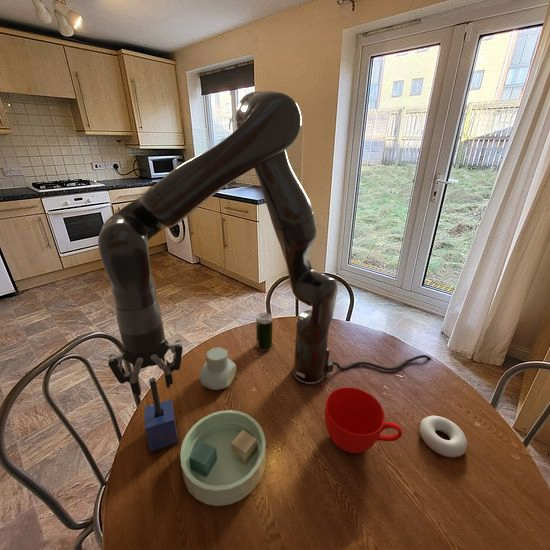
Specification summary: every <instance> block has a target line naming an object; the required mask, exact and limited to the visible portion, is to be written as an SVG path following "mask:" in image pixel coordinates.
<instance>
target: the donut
mask: <svg viewBox="0 0 550 550" xmlns="http://www.w3.org/2000/svg"><path fill="white" fill-rule="evenodd" d="M436 431H437V432H442V433H444V434H445V435H447V437H448V438H449V439H444V438H442V437H440V436H439V435H438V434H437V432H436ZM419 433H420V437H421V439H422V440H423V442H424V443H425V445H427V447H429V448H430V449H431V450H432V451H434V452H435V453H436V454H438V455H441V456H443V457H448V458H456V457H462V456H463V455H464V454H465V453H466V451H467V448H468V440H467V438H466V435H465V433H464V431H463V430H462V429H461V428H460V427H459V426H458V425H457V424H456V423H455V422H453V421H452V420H450V419H449V418H446V417H443V416H440V415H428V416H426V417H424V418H422V420H421V421H420V423H419Z"/></svg>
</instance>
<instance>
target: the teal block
mask: <svg viewBox="0 0 550 550" xmlns="http://www.w3.org/2000/svg"><path fill="white" fill-rule="evenodd" d="M189 460H190V467H191V470H193V471H195V472H197V473H199V474H201V475H203V476H205V477H207V476H208V474H209V473H210V471H211V469H212V468H213V466H214V464H215V463H216V461H217V453H216V448H215V447H213V446H211V445H208V444H206V443H204V442H202V441H200V442H199V444H198V445H197V447H196V448H195V450H194V451H193V452H192V454H191V455H190V457H189Z"/></svg>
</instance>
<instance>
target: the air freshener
mask: <svg viewBox="0 0 550 550" xmlns="http://www.w3.org/2000/svg"><path fill="white" fill-rule="evenodd" d="M228 357H229V356H228V350H227V349H225V348H223V347H213V348H211V349H209V350H208V351H207V352H206V354H205V359H206V361H205V363H204V364H203V366H202V367H201V369H200V371H199V375H198V381H199V382H200V383H201V385H202V386H203V387H205V388H206V389H208V390H214V391H219V390H224V389H227V388H228V387H229V386H230V385H231V384H232V382H233V380H234V378H235V376H236V373H237V365H236V363H235V362H234V361H233V360H232V359H230V358H228Z"/></svg>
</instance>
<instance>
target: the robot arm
mask: <svg viewBox="0 0 550 550" xmlns="http://www.w3.org/2000/svg"><path fill="white" fill-rule="evenodd" d="M240 99H241V100H239V102H238V104H237V108H236V111H235V124H236V126H235V127H236V129H235V130H234V131H233V132H232V133H231V134H230V135H229V136H227V137H226V138H225V139H223V140H222V141H220V142H219V143H218V144H216V145H215V146H213V147H211V148H209V149H207V150H206V151H204V152H202V153H200V154H199V155H196V156H194V157H193V158H190V159H189V160H186V161H184V162H183V163H181V164H180V165H178V166H177V167H175V168H173V170H171V171H170V172H168V173H167V174H166V175H165V176H164V177H162V178H161V179H159V180H158V181H157V182H155V184H153V185H152V186H150V188H148V189H147V190H146V191H145V192H144V193H143V194H142V195H141V196H140V197H138V198H136V199H135V200H133V201H131V202H129V203H128V204H127V205H125V206H123V207H122V208H121V209H119V210H118V211H116V212H115V213H113V214H112V215H111V216H109V218H108V219H106V220H105V221H104V223H103V225H102V227H101V230H100V232H99V234H98V238H97V246H98V252H99V256H100V259H101V262H102V265H103V267H104V271H105V273H106V275H107V278H108V280H109V282H110V289H111V293H112V297H113V302H114V306H115V316H116V322H117V326H118V330H119V334H120V338H121V342H122V346H123V350H122V352H120V353H118V354H115V353H110V355H109V356H108V363H107V365H108V368H109V370H111V372H112V374H113V375H114V377H115V378H116V380H117V381H118V383H120V384H122V385H123V384H125V383H129V384H130V386H131V390H132V391H131V392H132V394H134V395H136V397H139V396H141V395H142V385H141V381H140V377H139V375H140V371H141V370H142V369H146V368H148V367H154V366H157V367H158V369H160V370H162V371H163V373H164V380H165V387H166V389H169V388H171V386H172V385H173V384H174V380H173V374H172V373H173V372H174V371H179V370H181V364H182V357H183V356H182V355H183V343H182V340H181V339H177V340H175V341H174V342H169V341H168V340H167V339H166V335H165V329H164V323H163V318H162V317H163V313H162V310H161V306H160V303H159V300H158V295H157V289H156V285H155V284H156V283H155V279H154V276H153V274H152V271H151V261H150V253H149V245H148V242H149V241H150V240H151V239H152V238H153V237H155V236H156V235H158V234H159V233H160V232H162V231H163V230H164V229H172V227H175V226H177V225H178V224H180V223H181V222H182V221H183V220H185V219H186V218H187V217H188V216H189V215H191V214H192V213H193V212H194V211H196V210H197V209H198V208H199V207H200V206H202V205H203V204H205V202H207V201H208V200H209V199H210V198H212V197H213V196H215V194H217V193H218V192H220V191H221V190H222V189H224V188H226V187H227V186H228V185H229V184H231V183H233V182H234V181H236V180H237V179H239V178H241V177H242V176H243V175H245V174H246V173H248V172H249V171H251V170H253V169H254V172H255V173H256V176H257V179H258V181H259V184H260V189H261V191H262V195H263V199H264V202H265V205H266V208H267V210H268V214H269V217H270V221H271V224H272V227H273V229H274V233H275V235H276V238H277V241H278V244H279V246H280V249H281V252H282V255H283V258H284V262H285V265H286V269H287V273H288V274H287V275H288V278H289V283H290V288H291V292H292V294H293V296H294V298H295V299H296V300H297V301H299V302H300V303H302V304H304V305H306V306H308V307H310V308H311V309H306V310H303V311H301V312H300V313H299V314H298V315H297V317H296V324H295V340H294V341H295V342H294V344H295V345H294V356H293V357H294V358H293V370H292V374H293V377H294V378H295V380H297V381H298V382H299V383H301V384H304V385H309V386H310V385H318V384H319V383H321V382H322V381H323V380H324V378H325V377H327V375H328V373H332V372H333V371H334V365H335V366H336V368H337V369H338V370H341V371H346V370H348V369H352V368H353V367H356V366H359V365H366V366H371V367H374V368H376V369H380V370H384V371H397V370H399V369H401V368H402V367H403V366H405V365H406V364H408V363H410V362H413V361H416V360H419V359H423V358H425V359H428V360H431V359H432V358H431V357H430V356H429V355H427V354H419V355H416V356H414V357H411V358H408V359H406V360H404V361H403V362H401V363H399V365H397V366H394V367H387V366H381V365H379V364H377V363H376V364H375V363H373V362H370V361H369V362H368V361H357V362H354V363H351V364H349V365H347V366H341V365H340V364H339V362H336V361H331V359H330V352H331V351H330V349H329V348H328V342H329V335H330V327H331V324H332V321H333V318H334V314H335V308H336V303H337V298H338V289H339V288H338V287H339V286H338V283H337V280H336V279H334V278H333V277H331V276H329V275H327V274H324V273H322V272H319V271H317V270H315V269H314V267H313V264H312V263H311V258H310V252H311V249H312V247H313V245H314V243H315V241H316V238H317V235H318V234H317V233H318V228H317V222H316V219H315V214H314V210H313V206H312V203H311V201H310V198H309V197H308V194H307V193H306V191H305V189H304V187H303V185H302V183H301V181H299V179H298V177H297V175H296V174H295V172H294V170H293V168H292V166H291V163H290V160H289V158H288V153H287V150H288V149H289V148H290V147H291V146H292V145H293V144H294V143H295V142H296V140H297V139H298V137H299V135H300V132H301V128H302V112H301V109H300V106H299V105H298V103H297V102H296V101H295V99H294V98H293V97H291V96H290V95H288V94H286V93H284V92H280V91H274V90H261V91H260V90H259V91H258V90H257V91H251V92H249V93H247V94H245V95H244V96H243V97H242V98H240ZM169 350H170V351H171V353H172V354H173V357H172V358H173V359H172V361H171V362H170V361H169V360H168V359H167V357H166V355H167V353H168V351H169ZM428 356H429V357H428ZM123 361H126V362H128V363H129V364H131V369H130V372H128V371H126V369H125V368H124V366H123ZM405 361H406V362H405Z"/></svg>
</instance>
